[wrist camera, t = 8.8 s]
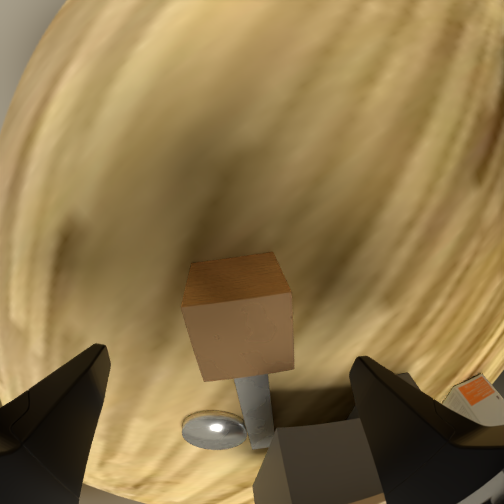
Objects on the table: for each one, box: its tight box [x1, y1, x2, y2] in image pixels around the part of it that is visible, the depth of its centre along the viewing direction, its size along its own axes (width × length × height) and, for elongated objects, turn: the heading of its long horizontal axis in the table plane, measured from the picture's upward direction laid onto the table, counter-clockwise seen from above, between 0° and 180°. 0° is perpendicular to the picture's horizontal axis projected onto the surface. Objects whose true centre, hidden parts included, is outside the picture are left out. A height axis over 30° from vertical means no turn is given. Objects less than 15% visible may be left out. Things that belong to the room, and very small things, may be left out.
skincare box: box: [442, 374, 504, 426], centre depth 17 cm, size 6×4×12 cm
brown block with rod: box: [181, 252, 294, 449], centre depth 15 cm, size 4×17×4 cm, turn 6°
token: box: [182, 411, 247, 450], centre depth 18 cm, size 5×5×1 cm
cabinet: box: [253, 373, 421, 504], centre depth 15 cm, size 12×11×10 cm
